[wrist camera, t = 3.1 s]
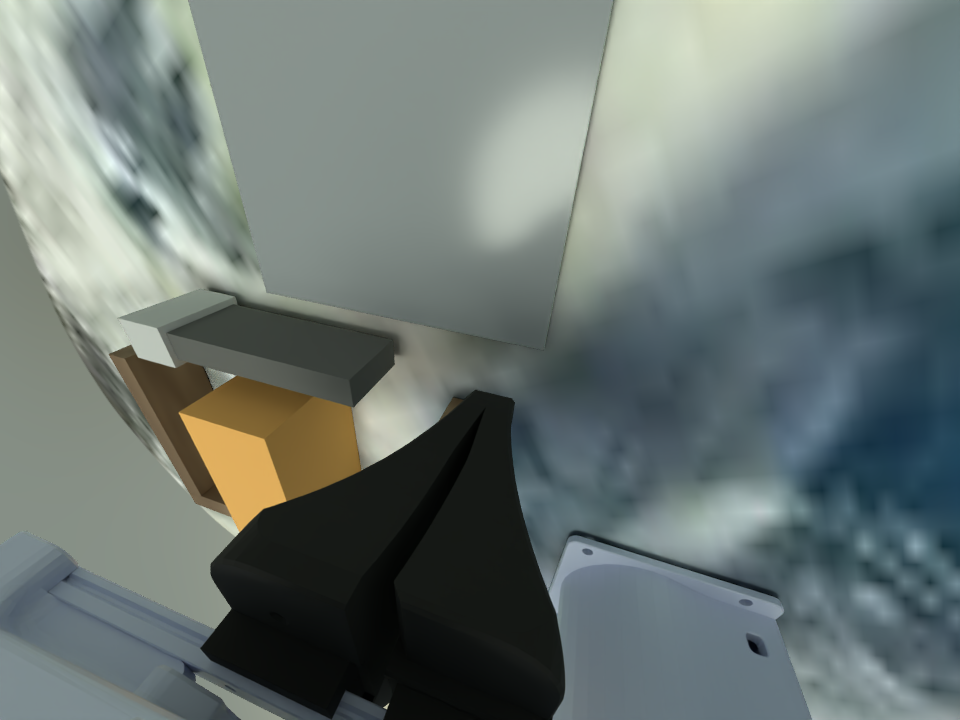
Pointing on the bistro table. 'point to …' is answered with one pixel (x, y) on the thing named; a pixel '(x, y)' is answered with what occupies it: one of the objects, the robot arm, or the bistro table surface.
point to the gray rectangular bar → (260, 346)
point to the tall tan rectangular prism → (270, 444)
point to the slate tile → (409, 149)
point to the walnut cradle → (178, 416)
